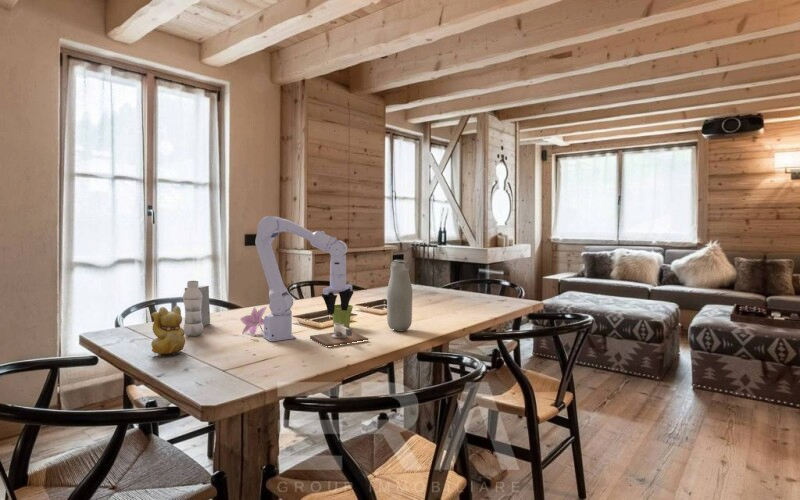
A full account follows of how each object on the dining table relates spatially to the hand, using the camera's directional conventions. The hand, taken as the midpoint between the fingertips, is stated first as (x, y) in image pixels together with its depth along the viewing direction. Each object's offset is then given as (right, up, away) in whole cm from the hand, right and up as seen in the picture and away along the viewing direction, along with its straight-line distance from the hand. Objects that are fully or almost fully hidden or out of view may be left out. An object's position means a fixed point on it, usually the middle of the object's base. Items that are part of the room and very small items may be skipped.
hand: (337, 311), depth 167 cm
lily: (-32, -9, +8) cm, 35 cm away
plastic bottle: (-53, -9, +2) cm, 54 cm away
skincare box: (-58, -8, +19) cm, 62 cm away
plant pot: (-1, -9, +19) cm, 21 cm away
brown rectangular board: (+1, -10, -1) cm, 10 cm away
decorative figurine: (-50, -11, -22) cm, 55 cm away
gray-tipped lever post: (+2, -7, -4) cm, 8 cm away
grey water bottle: (+22, -10, +16) cm, 29 cm away
